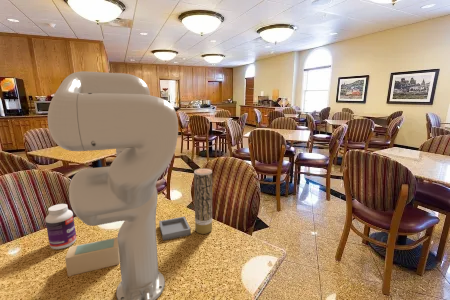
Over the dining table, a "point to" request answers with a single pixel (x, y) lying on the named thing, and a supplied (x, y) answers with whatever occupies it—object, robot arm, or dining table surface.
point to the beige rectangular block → (92, 256)
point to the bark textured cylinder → (203, 200)
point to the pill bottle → (60, 226)
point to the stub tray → (174, 228)
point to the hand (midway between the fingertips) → (132, 203)
